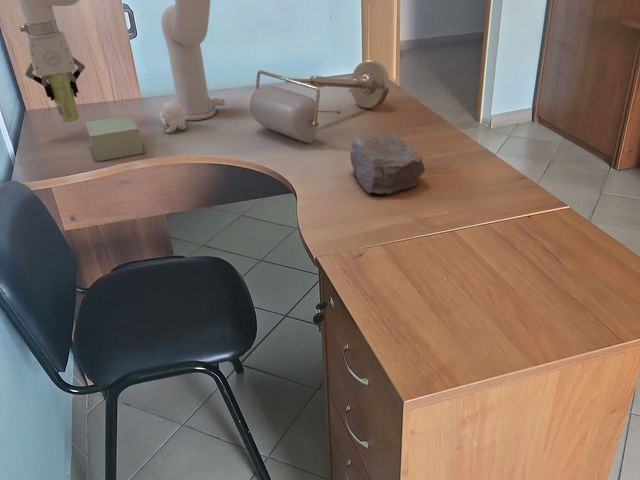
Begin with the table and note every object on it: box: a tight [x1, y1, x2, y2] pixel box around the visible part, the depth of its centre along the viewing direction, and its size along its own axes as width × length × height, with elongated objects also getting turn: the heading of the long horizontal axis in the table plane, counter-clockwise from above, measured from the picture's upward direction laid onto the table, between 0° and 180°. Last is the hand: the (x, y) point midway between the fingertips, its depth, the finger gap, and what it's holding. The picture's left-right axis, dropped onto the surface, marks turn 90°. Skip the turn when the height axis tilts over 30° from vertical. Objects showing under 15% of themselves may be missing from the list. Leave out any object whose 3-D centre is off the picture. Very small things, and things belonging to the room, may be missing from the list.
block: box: [85, 114, 145, 162], centre depth 160 cm, size 12×12×7 cm
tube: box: [47, 73, 80, 123], centre depth 162 cm, size 6×5×20 cm
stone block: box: [349, 134, 426, 197], centre depth 141 cm, size 17×12×15 cm
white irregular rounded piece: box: [159, 100, 187, 134], centre depth 173 cm, size 6×8×12 cm
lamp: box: [249, 59, 390, 144], centre depth 174 cm, size 27×23×40 cm
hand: (63, 96), depth 164 cm, fingers closed on tube, 5 cm apart
